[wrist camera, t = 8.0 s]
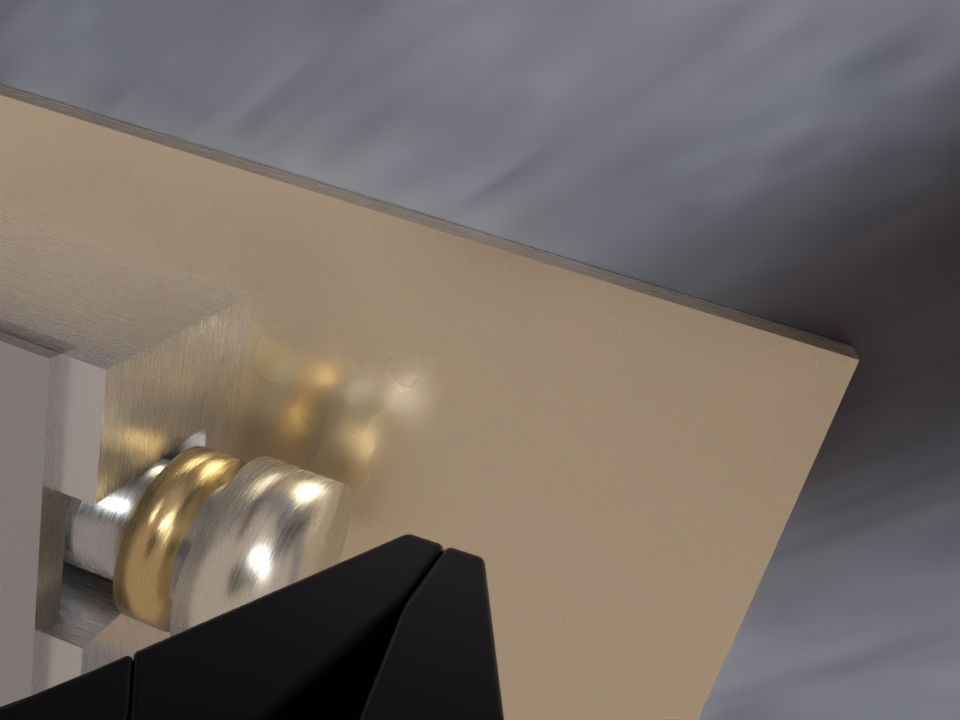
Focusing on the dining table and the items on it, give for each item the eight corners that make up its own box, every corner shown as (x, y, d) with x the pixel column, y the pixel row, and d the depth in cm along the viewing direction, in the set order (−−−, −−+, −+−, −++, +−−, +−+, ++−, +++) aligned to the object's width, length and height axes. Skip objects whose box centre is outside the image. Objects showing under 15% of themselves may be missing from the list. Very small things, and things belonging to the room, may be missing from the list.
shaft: (365, 451, 21) (274, 552, 17) (331, 604, 23) (241, 733, 19) (-112, 281, 23) (-303, 333, 19) (-109, 435, 25) (-283, 515, 21)
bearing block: (852, 345, 20) (920, 487, 13) (636, 835, 26) (609, 1099, 19) (-82, 59, 23) (-390, 59, 17) (-79, 545, 29) (-305, 685, 23)
